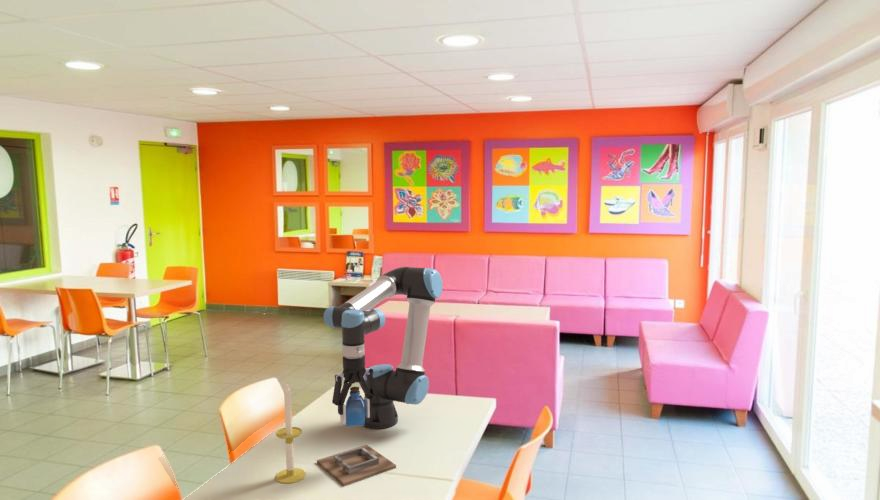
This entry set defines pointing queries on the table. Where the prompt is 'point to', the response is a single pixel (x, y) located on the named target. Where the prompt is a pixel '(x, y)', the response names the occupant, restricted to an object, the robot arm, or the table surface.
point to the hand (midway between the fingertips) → (355, 419)
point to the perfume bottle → (355, 408)
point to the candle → (289, 444)
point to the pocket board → (355, 464)
